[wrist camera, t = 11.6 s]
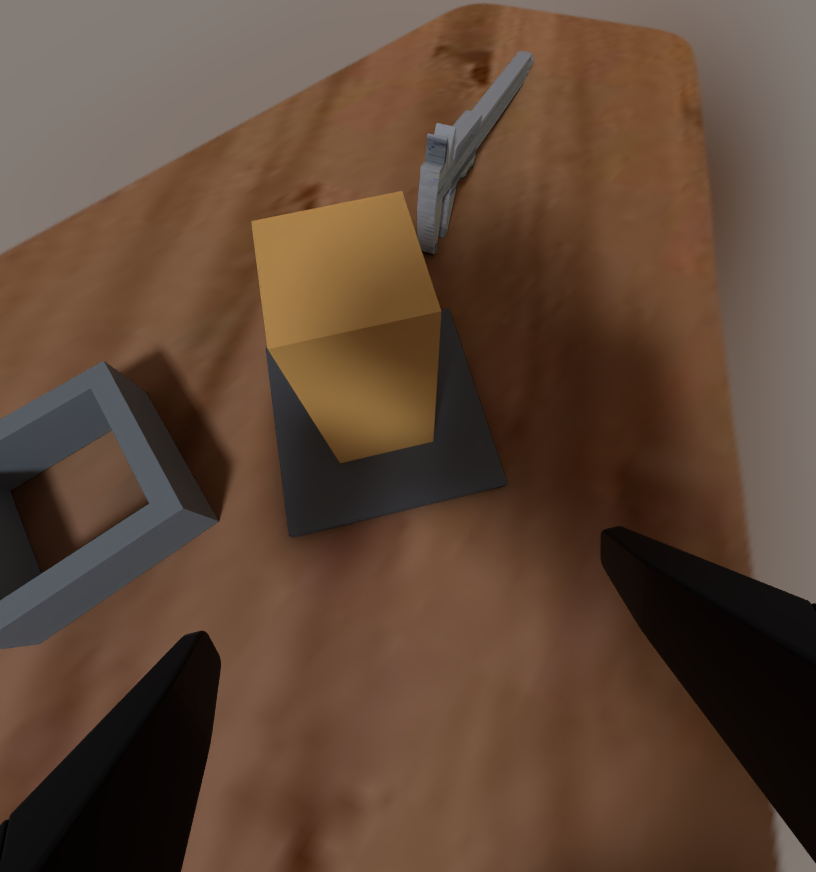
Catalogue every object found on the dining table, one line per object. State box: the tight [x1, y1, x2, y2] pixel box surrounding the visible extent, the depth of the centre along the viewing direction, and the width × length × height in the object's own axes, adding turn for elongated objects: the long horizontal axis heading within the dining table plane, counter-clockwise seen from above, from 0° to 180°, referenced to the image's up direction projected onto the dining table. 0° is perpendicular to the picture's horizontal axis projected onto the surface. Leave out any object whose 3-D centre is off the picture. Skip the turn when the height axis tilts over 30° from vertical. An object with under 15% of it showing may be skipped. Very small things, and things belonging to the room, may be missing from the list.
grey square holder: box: [0, 361, 219, 649], centre depth 18 cm, size 8×8×3 cm
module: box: [251, 191, 441, 463], centre depth 16 cm, size 4×4×10 cm
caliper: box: [417, 51, 534, 255], centre depth 25 cm, size 20×1×6 cm, turn 157°
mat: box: [266, 308, 507, 537], centre depth 20 cm, size 10×10×1 cm
